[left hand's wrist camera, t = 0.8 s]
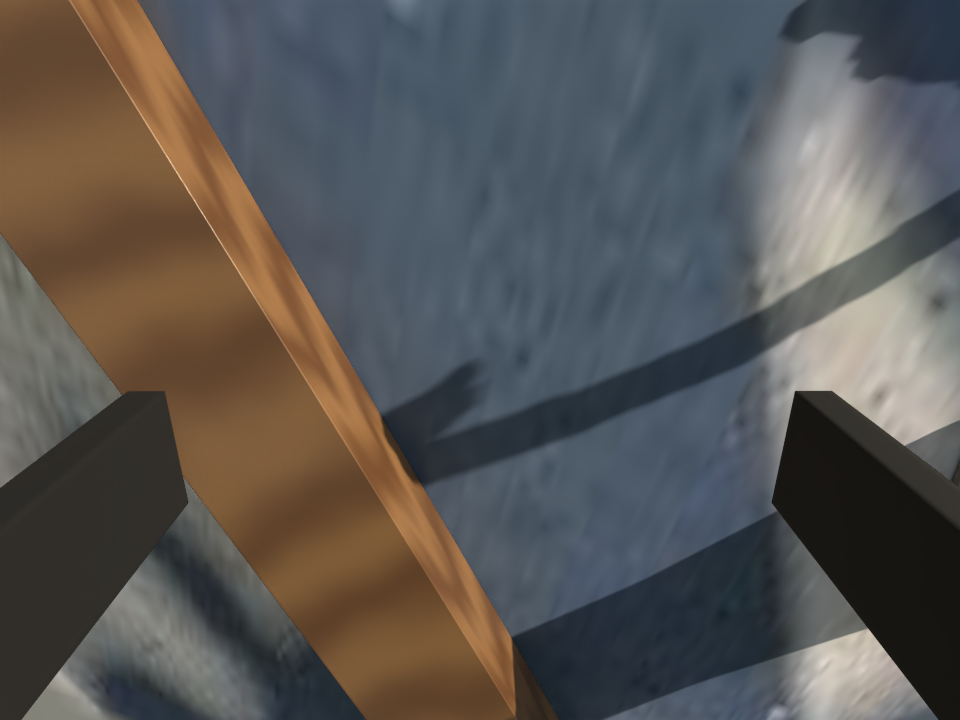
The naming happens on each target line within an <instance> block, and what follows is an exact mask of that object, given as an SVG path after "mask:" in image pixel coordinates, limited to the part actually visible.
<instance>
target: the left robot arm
mask: <svg viewBox="0 0 960 720" xmlns="http://www.w3.org/2000/svg"><path fill="white" fill-rule="evenodd" d="M187 504H188V499H187V494H186V489H185V484H184V480H183V475H182V470H181V465H180V461H179V456H178V451H177V446H176V442H175V437H174V432H173V427H172V423H171V418H170V413H169V408H168V404H167V399H166V394H165V391H127V392H126V393H125V394H124V395H122V396H121V397H120V398H118V399H117V400H116V401H114V402H113V403H112V404H110V405H109V406H108V407H106V408H105V409H104V410H102V411H101V412H100V413H98V414H97V415H96V416H95V417H93V418H92V419H91V420H89V421H88V422H87V423H85V424H84V425H83V426H81V427H80V428H79V429H77V430H76V431H75V432H73V433H72V434H71V435H70V436H68V437H67V438H66V439H64V440H63V441H62V442H60V443H59V444H58V445H56V446H55V447H54V448H52V449H51V450H50V451H48V452H47V453H46V454H44V455H43V456H42V457H41V458H39V459H38V460H37V461H35V462H34V463H33V464H31V465H30V466H29V467H27V468H26V469H25V470H23V471H22V472H21V473H19V474H18V475H17V476H15V477H14V478H13V479H12V480H10V481H9V482H8V483H6V484H5V485H4V486H2V487H1V488H0V720H22V718H23V717H24V716H25V714H26V713H27V712H28V710H29V709H30V708H31V707H32V705H33V704H34V703H35V701H36V700H37V699H38V697H39V696H40V695H41V694H42V692H43V691H44V690H45V688H46V687H47V686H48V684H49V683H50V682H51V681H52V679H53V678H54V677H55V675H56V674H57V673H58V671H59V670H60V669H61V668H62V666H63V665H64V664H65V662H66V661H67V660H68V658H69V657H70V656H71V655H72V653H73V652H74V651H75V649H76V648H77V647H78V645H79V644H80V643H81V642H82V640H83V639H84V638H85V636H86V635H87V634H88V632H89V631H90V630H91V629H92V627H93V626H94V625H95V623H96V622H97V621H98V620H99V618H100V617H101V616H102V614H103V613H104V612H105V610H106V609H107V608H108V607H109V605H110V604H111V603H112V601H113V600H114V599H115V597H116V596H117V595H118V594H119V592H120V591H121V590H122V588H123V587H124V586H125V584H126V583H127V582H128V581H129V579H130V578H131V577H132V575H133V574H134V573H135V571H136V570H137V569H138V568H139V566H140V565H141V564H142V562H143V561H144V560H145V558H146V557H147V556H148V555H149V553H150V552H151V551H152V549H153V548H154V547H155V545H156V544H157V543H158V542H159V540H160V539H161V538H162V536H163V535H164V534H165V532H166V531H167V530H168V529H169V527H170V526H171V525H172V523H173V522H174V521H175V519H176V518H177V517H178V516H179V514H180V513H181V512H182V510H183V509H184V508H185V506H186V505H187ZM772 504H773V505H774V506H775V508H776V509H777V510H778V512H779V513H780V514H781V516H782V517H783V518H784V519H785V521H786V522H787V523H788V525H789V526H790V527H791V529H792V530H793V531H794V532H795V534H796V535H797V536H798V538H799V539H800V540H801V542H802V543H803V544H804V545H805V547H806V548H807V549H808V551H809V552H810V553H811V555H812V556H813V557H814V558H815V560H816V561H817V562H818V564H819V565H820V566H821V568H822V569H823V570H824V571H825V573H826V574H827V575H828V577H829V578H830V579H831V581H832V582H833V583H834V584H835V586H836V587H837V588H838V590H839V591H840V592H841V594H842V595H843V596H844V597H845V599H846V600H847V601H848V603H849V604H850V605H851V607H852V608H853V609H854V610H855V612H856V613H857V614H858V616H859V617H860V618H861V620H862V621H863V622H864V623H865V625H866V626H867V627H868V629H869V630H870V631H871V633H872V634H873V635H874V636H875V638H876V639H877V640H878V642H879V643H880V644H881V645H882V647H883V648H884V649H885V651H886V652H887V653H888V655H889V656H890V657H891V658H892V660H893V661H894V662H895V664H896V665H897V666H898V668H899V669H900V670H901V671H902V673H903V674H904V675H905V677H906V678H907V679H908V681H909V682H910V683H911V684H912V686H913V687H914V688H915V690H916V691H917V692H918V694H919V695H920V696H921V697H922V699H923V700H924V701H925V703H926V704H927V705H928V707H929V708H930V709H931V710H932V712H933V713H934V714H935V716H936V717H937V718H938V720H960V488H959V487H958V486H956V485H955V484H954V483H952V482H951V481H950V480H948V479H947V478H946V477H944V476H943V475H942V474H941V473H939V472H938V471H937V470H935V469H934V468H933V467H931V466H930V465H929V464H927V463H926V462H925V461H923V460H922V459H921V458H919V457H918V456H917V455H916V454H914V453H913V452H912V451H910V450H909V449H908V448H906V447H905V446H904V445H902V444H901V443H900V442H898V441H897V440H896V439H894V438H893V437H892V436H890V435H889V434H888V433H887V432H885V431H884V430H883V429H881V428H880V427H879V426H877V425H876V424H875V423H873V422H872V421H871V420H869V419H868V418H867V417H865V416H864V415H863V414H862V413H860V412H859V411H858V410H856V409H855V408H854V407H852V406H851V405H850V404H848V403H847V402H846V401H844V400H843V399H842V398H840V397H839V396H838V395H836V394H835V393H834V392H833V391H795V394H794V399H793V404H792V408H791V413H790V418H789V423H788V427H787V432H786V437H785V442H784V446H783V451H782V456H781V461H780V465H779V470H778V475H777V480H776V484H775V489H774V494H773V499H772Z"/></svg>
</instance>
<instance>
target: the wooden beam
mask: <svg viewBox="0 0 960 720" xmlns="http://www.w3.org/2000/svg"><path fill="white" fill-rule="evenodd" d="M0 233H1V235H2V236H3V237H4V239H5V240H6V241H7V243H8V244H9V245H10V247H11V248H12V249H13V251H14V252H15V253H16V255H17V256H18V257H19V259H20V260H21V261H22V263H23V264H24V265H25V267H26V268H27V269H28V270H29V272H30V273H31V274H32V276H33V277H34V278H35V280H36V281H37V282H38V284H39V285H40V286H41V288H42V289H43V290H44V292H45V293H46V294H47V296H48V297H49V298H50V300H51V301H52V302H53V304H54V305H55V306H56V308H57V309H58V310H59V312H60V313H61V314H62V316H63V317H64V318H65V320H66V321H67V322H68V324H69V325H70V326H71V328H72V329H73V330H74V332H75V333H76V334H77V336H78V337H79V338H80V340H81V341H82V342H83V344H84V345H85V346H86V348H87V349H88V350H89V352H90V353H91V354H92V356H93V357H94V358H95V360H96V361H97V362H98V364H99V365H100V366H101V368H102V369H103V370H104V372H105V373H106V374H107V376H108V377H109V378H110V380H111V381H112V382H113V384H114V385H115V386H116V388H117V389H118V390H119V392H120V393H121V394H122V395H124V394H125V393H126V392H127V391H165V394H166V399H167V404H168V408H169V413H170V418H171V423H172V427H173V432H174V437H175V442H176V446H177V451H178V456H179V461H180V465H181V470H182V475H183V477H184V478H185V479H186V481H187V482H188V483H189V485H190V486H191V487H192V489H193V490H194V491H195V493H196V494H197V495H198V497H199V498H200V499H201V501H202V502H203V503H204V505H205V506H206V507H207V509H208V510H209V511H210V513H211V514H212V515H213V517H214V518H215V519H216V521H217V522H218V523H219V525H220V526H221V527H222V529H223V530H224V531H225V533H226V534H227V535H228V537H229V538H230V539H231V541H232V542H233V543H234V545H235V546H236V547H237V549H238V550H239V551H240V553H241V554H242V555H243V557H244V558H245V559H246V561H247V562H248V563H249V565H250V566H251V567H252V569H253V570H254V571H255V573H256V574H257V575H258V577H259V578H260V579H261V580H262V582H263V583H264V584H265V586H266V587H267V588H268V590H269V591H270V592H271V594H272V595H273V596H274V598H275V599H276V600H277V602H278V603H279V604H280V606H281V607H282V608H283V610H284V611H285V612H286V614H287V615H288V616H289V618H290V619H291V620H292V622H293V623H294V624H295V626H296V627H297V628H298V630H299V631H300V632H301V634H302V635H303V636H304V638H305V639H306V640H307V642H308V643H309V644H310V646H311V647H312V648H313V650H314V651H315V652H316V654H317V655H318V656H319V658H320V659H321V660H322V662H323V663H324V664H325V666H326V667H327V668H328V670H329V671H330V672H331V674H332V675H333V676H334V678H335V679H336V680H337V682H338V683H339V684H340V686H341V687H342V688H343V690H344V691H345V692H346V694H347V695H348V696H349V698H350V699H351V700H352V702H353V703H354V704H355V706H356V707H357V708H358V710H359V711H360V712H361V714H362V715H363V716H364V718H365V719H366V720H559V718H558V717H557V715H556V713H555V712H554V710H553V708H552V707H551V705H550V703H549V701H548V700H547V698H546V696H545V695H544V693H543V691H542V689H541V688H540V686H539V684H538V683H537V681H536V679H535V678H534V676H533V674H532V672H531V671H530V669H529V667H528V666H527V664H526V662H525V661H524V659H523V657H522V655H521V654H520V652H519V650H518V649H517V647H516V645H515V643H514V642H513V640H512V638H511V637H510V635H509V633H508V632H507V630H506V628H505V626H504V625H503V623H502V621H501V620H500V618H499V616H498V614H497V613H496V611H495V609H494V608H493V606H492V604H491V603H490V601H489V599H488V597H487V596H486V594H485V592H484V591H483V589H482V587H481V586H480V584H479V582H478V580H477V579H476V577H475V575H474V574H473V572H472V570H471V568H470V567H469V565H468V563H467V562H466V560H465V558H464V557H463V555H462V553H461V551H460V550H459V548H458V546H457V545H456V543H455V541H454V540H453V538H452V536H451V534H450V533H449V531H448V529H447V528H446V526H445V524H444V522H443V521H442V519H441V517H440V516H439V514H438V512H437V511H436V509H435V507H434V505H433V504H432V502H431V500H430V499H429V497H428V495H427V494H426V492H425V490H424V488H423V487H422V485H421V483H420V482H419V480H418V478H417V476H416V475H415V473H414V471H413V470H412V468H411V466H410V465H409V463H408V461H407V459H406V458H405V456H404V454H403V453H402V451H401V449H400V448H399V446H398V444H397V442H396V441H395V439H394V437H393V436H392V434H391V432H390V430H389V429H388V427H387V425H386V424H385V422H384V420H383V419H382V417H381V415H380V413H379V412H378V410H377V408H376V407H375V405H374V403H373V402H372V400H371V398H370V396H369V395H368V393H367V391H366V390H365V388H364V386H363V384H362V383H361V381H360V379H359V378H358V376H357V374H356V373H355V371H354V369H353V367H352V366H351V364H350V362H349V361H348V359H347V357H346V355H345V354H344V352H343V350H342V349H341V347H340V345H339V344H338V342H337V340H336V338H335V337H334V335H333V333H332V332H331V330H330V328H329V327H328V325H327V323H326V321H325V320H324V318H323V316H322V315H321V313H320V311H319V309H318V308H317V306H316V304H315V303H314V301H313V299H312V298H311V296H310V294H309V292H308V291H307V289H306V287H305V286H304V284H303V282H302V281H301V279H300V277H299V275H298V274H297V272H296V270H295V269H294V267H293V265H292V263H291V262H290V260H289V258H288V257H287V255H286V253H285V252H284V250H283V248H282V246H281V245H280V243H279V241H278V240H277V238H276V236H275V235H274V233H273V231H272V229H271V228H270V226H269V224H268V223H267V221H266V219H265V217H264V216H263V214H262V212H261V211H260V209H259V207H258V206H257V204H256V202H255V200H254V199H253V197H252V195H251V194H250V192H249V190H248V189H247V187H246V185H245V183H244V182H243V180H242V178H241V177H240V175H239V173H238V171H237V170H236V168H235V166H234V165H233V163H232V161H231V160H230V158H229V156H228V154H227V153H226V151H225V149H224V148H223V146H222V144H221V143H220V141H219V139H218V137H217V136H216V134H215V132H214V131H213V129H212V127H211V125H210V124H209V122H208V120H207V119H206V117H205V115H204V114H203V112H202V110H201V108H200V107H199V105H198V103H197V102H196V100H195V98H194V97H193V95H192V93H191V91H190V90H189V88H188V86H187V85H186V83H185V81H184V79H183V78H182V76H181V74H180V73H179V71H178V69H177V68H176V66H175V64H174V62H173V61H172V59H171V57H170V56H169V54H168V52H167V50H166V49H165V47H164V45H163V44H162V42H161V40H160V39H159V37H158V35H157V33H156V32H155V30H154V28H153V27H152V25H151V23H150V22H149V20H148V18H147V16H146V15H145V13H144V11H143V10H142V8H141V6H140V4H139V3H138V1H137V0H0Z"/></svg>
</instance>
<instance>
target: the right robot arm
mask: <svg viewBox="0 0 960 720" xmlns="http://www.w3.org/2000/svg"><path fill="white" fill-rule="evenodd" d="M953 483H954V484H955V485H956V486H958V487H959V488H960V464H959V467H958V469H957V471H956V474H955V477H954V480H953Z"/></svg>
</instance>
